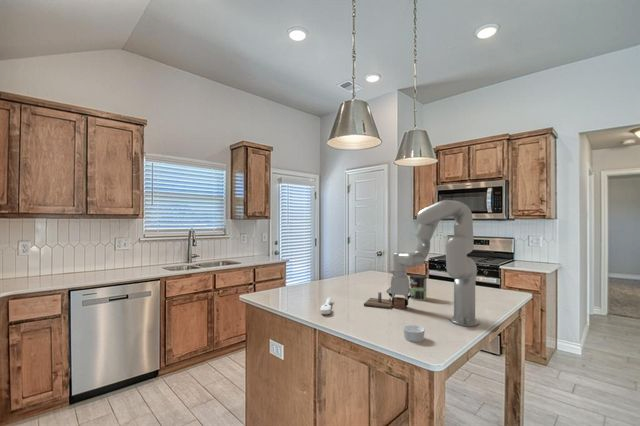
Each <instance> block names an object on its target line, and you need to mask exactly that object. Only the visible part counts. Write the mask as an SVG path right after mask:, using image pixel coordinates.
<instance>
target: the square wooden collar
mask: <svg viewBox="0 0 640 426" xmlns="http://www.w3.org/2000/svg"><path fill="white" fill-rule="evenodd" d="M394 297H395V298H394V306H393V309H396V310H406V308H407V307H405V299H406V298H405V297H401V296H400V297H399V296H394Z"/></svg>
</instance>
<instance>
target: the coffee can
mask: <svg viewBox="0 0 640 426" xmlns="http://www.w3.org/2000/svg"><path fill="white" fill-rule="evenodd" d="M409 288H410V289H411V290H412V291H413V292H414V295H413V296H411V297H410V298H409V299H410V300H413V301H426V300H427V275H424V274H414V273H413V274H410V275H409ZM410 294H411V293H410V292H409V295H410Z"/></svg>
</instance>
